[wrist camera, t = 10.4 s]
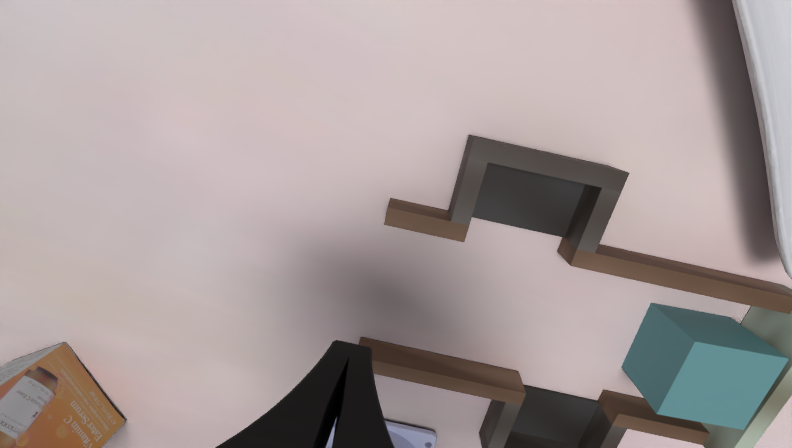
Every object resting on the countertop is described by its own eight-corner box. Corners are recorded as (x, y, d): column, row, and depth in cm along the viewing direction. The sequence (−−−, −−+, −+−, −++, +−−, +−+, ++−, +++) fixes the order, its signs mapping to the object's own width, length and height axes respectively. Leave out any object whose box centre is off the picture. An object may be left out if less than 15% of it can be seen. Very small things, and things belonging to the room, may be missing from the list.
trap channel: (663, 472, 27) (697, 524, 24) (346, 404, 27) (336, 446, 24) (827, 215, 20) (906, 237, 17) (407, 120, 20) (404, 124, 17)
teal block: (693, 379, 25) (743, 430, 21) (620, 365, 25) (656, 414, 21) (728, 315, 23) (789, 358, 19) (649, 301, 23) (695, 341, 19)
